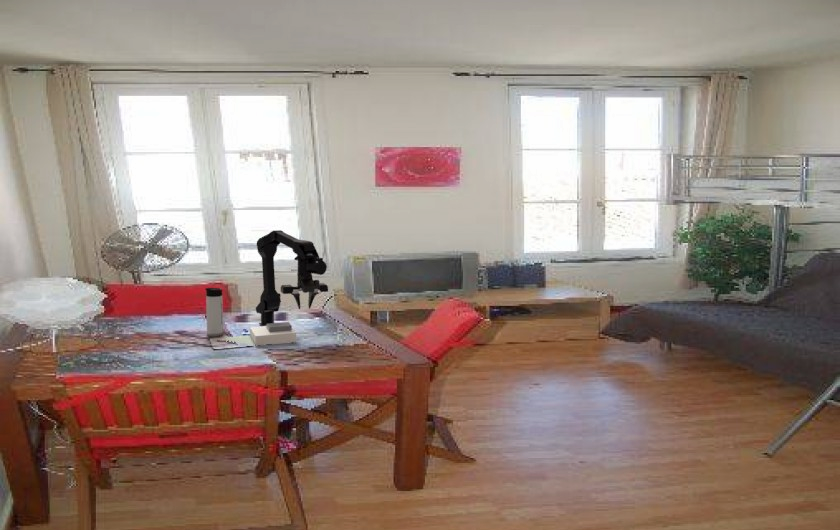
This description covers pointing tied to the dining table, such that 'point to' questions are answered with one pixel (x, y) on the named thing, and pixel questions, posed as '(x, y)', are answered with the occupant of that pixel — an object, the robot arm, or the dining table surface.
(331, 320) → the dining table surface
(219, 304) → the travel mug
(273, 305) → the robot arm
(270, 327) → the grey rectangular block
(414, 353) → the dining table surface
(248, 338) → the mat
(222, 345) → the dining table surface
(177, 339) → the dining table surface
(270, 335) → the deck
